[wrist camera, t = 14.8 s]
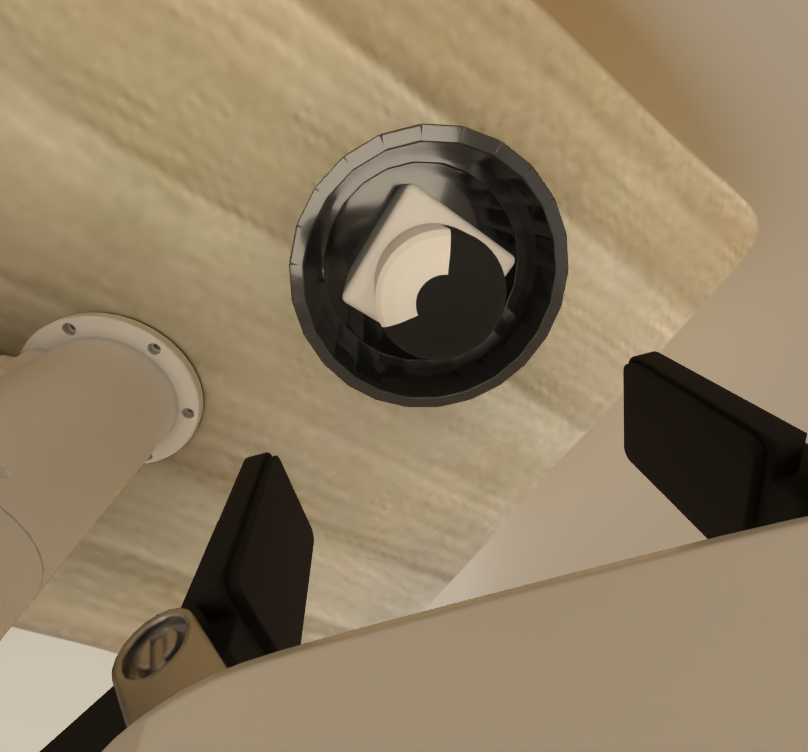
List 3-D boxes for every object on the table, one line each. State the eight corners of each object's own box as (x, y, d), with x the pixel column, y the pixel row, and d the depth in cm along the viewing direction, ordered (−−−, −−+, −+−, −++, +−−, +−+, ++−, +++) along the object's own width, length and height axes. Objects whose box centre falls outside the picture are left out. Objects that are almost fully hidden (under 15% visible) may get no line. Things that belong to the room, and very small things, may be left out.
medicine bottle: (485, 243, 29) (556, 277, 18) (428, 326, 31) (460, 401, 20) (400, 181, 27) (422, 179, 16) (345, 275, 29) (332, 328, 18)
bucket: (294, 324, 31) (267, 374, 23) (339, 109, 25) (325, 72, 17) (470, 370, 34) (503, 429, 25) (545, 185, 28) (618, 185, 20)
